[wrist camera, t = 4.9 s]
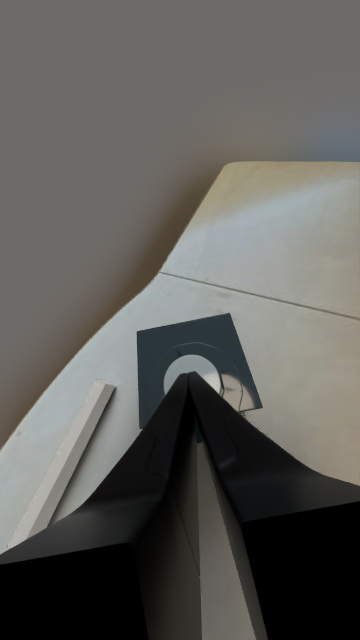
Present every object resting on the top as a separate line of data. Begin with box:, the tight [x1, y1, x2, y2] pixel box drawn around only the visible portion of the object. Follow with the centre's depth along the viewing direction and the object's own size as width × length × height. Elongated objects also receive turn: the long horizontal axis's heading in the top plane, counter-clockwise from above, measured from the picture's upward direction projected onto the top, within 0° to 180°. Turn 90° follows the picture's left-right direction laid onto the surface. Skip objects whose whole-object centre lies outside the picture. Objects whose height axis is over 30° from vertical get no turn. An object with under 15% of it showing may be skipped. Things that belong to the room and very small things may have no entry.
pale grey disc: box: [164, 355, 221, 395], centre depth 11 cm, size 3×3×2 cm
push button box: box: [137, 313, 263, 443], centre depth 16 cm, size 9×9×8 cm
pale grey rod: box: [7, 380, 115, 549], centre depth 16 cm, size 3×2×16 cm
